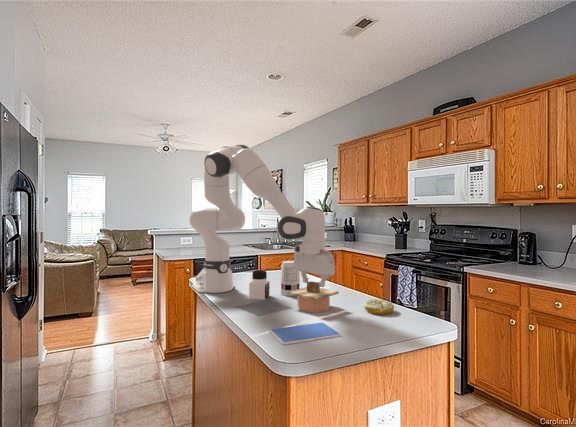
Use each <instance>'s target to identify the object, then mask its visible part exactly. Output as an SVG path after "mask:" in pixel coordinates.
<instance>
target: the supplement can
mask: <svg viewBox="0 0 576 427" xmlns="http://www.w3.org/2000/svg"><path fill="white" fill-rule="evenodd" d="M280 270H281V272H280V277H281V278H280V294H281V295H282V296H285V297H295V295H290V294H288V292H289V291H293V290H297V289H300V276H301V275H300V274H301V271H300V270H296V269H295V267H294V260H284V261H282V263H281V266H280Z"/></svg>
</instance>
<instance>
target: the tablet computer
mask: <svg viewBox="0 0 576 427" xmlns="http://www.w3.org/2000/svg"><path fill="white" fill-rule="evenodd" d="M269 333H270V334H271V336H273V337H274V338H275V339H276V340H277V341H278V342H279V343H280V344H281V345H282V346H283V345H286V346H287V345H291V344H297V343H299V344H300V343H304V342H310V341H311V342H312V340H313V341H318V340H325V339H326V340H327V339H333V338H334V339H335V338H340V337H342V334H341V333H340V332H338V331H337V330H336V329H334V328H332V327H330V326H329V325H327V324H326V323H324V322H316V323H309V324H301V325H292V326H286V327H285V326H283V327H278V328H275V327H274V328H270V329H269Z"/></svg>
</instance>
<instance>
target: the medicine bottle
mask: <svg viewBox="0 0 576 427" xmlns="http://www.w3.org/2000/svg"><path fill="white" fill-rule="evenodd" d="M267 275H268V274H267V271H266V270H264V269H257V270H254V271H252V281H251V282H249V283H248V284H249V286H248V292H249V293H248V295H249V296H248V297H249V298H248V299H250V300H261V301H264V300H268V298H269V297H270V280H267V279H268V278H267Z"/></svg>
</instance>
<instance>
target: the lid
mask: <svg viewBox="0 0 576 427" xmlns="http://www.w3.org/2000/svg"><path fill="white" fill-rule="evenodd" d="M339 293H340V292H339V291H338V290H333V289H327V288H324V287H319V281H317V282H316V281H308V282H307V283H306V286H305V287H302V288H299V289H297V290H293V291H289V292H288V294H290V295H295V296H296V297H297V296H299V297H304V298H308V299H313V300H319V299H322V298H326V297H329V296H330V297H331V296H335V295H338V294H339ZM295 296H294V297H295Z"/></svg>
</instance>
